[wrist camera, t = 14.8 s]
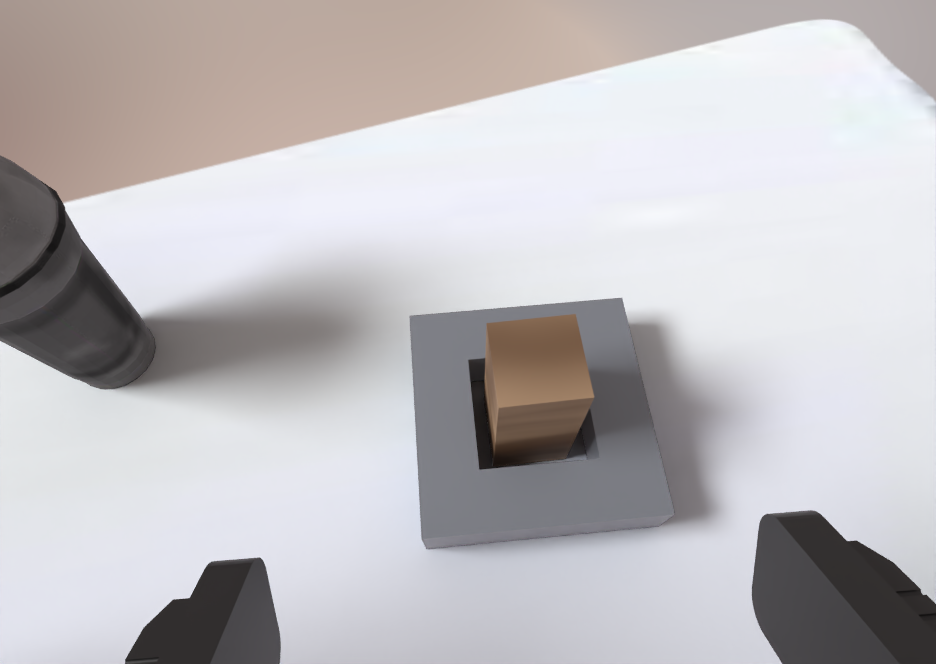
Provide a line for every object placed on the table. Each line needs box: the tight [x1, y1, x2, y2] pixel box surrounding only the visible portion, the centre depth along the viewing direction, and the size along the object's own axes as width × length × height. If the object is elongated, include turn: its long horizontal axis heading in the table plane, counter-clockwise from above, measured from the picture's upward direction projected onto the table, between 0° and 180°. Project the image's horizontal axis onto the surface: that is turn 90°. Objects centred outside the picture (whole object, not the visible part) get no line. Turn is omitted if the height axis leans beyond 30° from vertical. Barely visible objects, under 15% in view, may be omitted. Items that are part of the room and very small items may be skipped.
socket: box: [410, 298, 675, 549], centre depth 33 cm, size 12×12×3 cm
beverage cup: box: [0, 156, 155, 389], centre depth 28 cm, size 7×7×20 cm
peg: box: [484, 314, 594, 467], centre depth 30 cm, size 4×4×9 cm
